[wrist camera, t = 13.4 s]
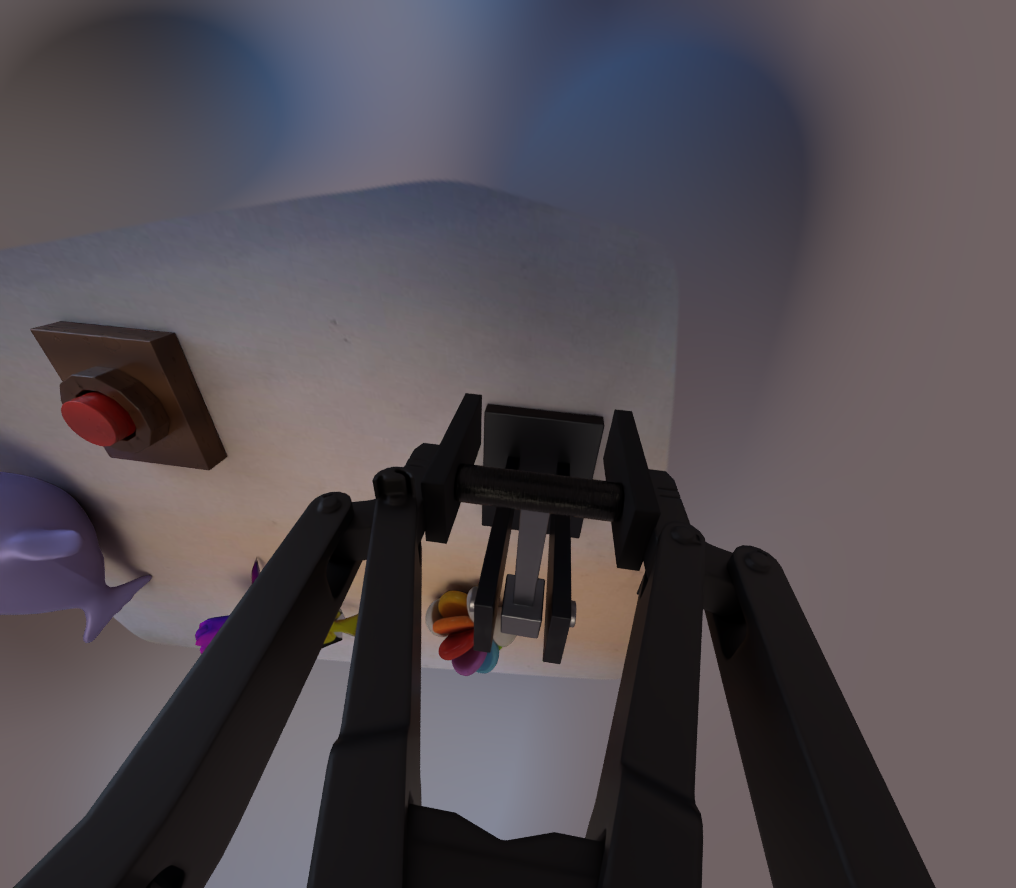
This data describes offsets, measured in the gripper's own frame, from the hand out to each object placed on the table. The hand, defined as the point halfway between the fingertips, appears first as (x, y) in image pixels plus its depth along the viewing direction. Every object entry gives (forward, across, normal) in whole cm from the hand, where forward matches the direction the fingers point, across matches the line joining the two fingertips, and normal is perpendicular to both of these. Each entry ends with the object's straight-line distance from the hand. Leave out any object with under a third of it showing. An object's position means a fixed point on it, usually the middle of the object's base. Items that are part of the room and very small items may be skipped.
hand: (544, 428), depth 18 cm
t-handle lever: (-2, 0, -5) cm, 6 cm away
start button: (+7, -35, -8) cm, 36 cm away
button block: (+11, -35, -8) cm, 37 cm away
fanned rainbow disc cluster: (+11, -5, -31) cm, 33 cm away
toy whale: (+11, -52, -26) cm, 59 cm away
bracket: (+11, 0, -11) cm, 15 cm away
